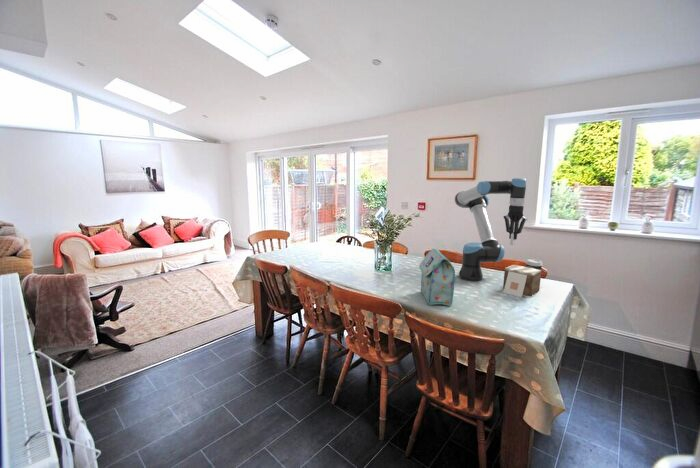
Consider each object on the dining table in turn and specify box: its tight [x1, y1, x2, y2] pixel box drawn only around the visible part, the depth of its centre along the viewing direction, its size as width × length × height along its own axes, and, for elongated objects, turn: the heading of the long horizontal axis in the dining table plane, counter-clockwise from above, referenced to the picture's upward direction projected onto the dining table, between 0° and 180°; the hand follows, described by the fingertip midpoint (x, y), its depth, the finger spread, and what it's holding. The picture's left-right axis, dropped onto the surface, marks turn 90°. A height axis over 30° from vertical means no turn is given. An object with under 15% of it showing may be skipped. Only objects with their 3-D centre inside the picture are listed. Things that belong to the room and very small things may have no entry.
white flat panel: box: [503, 271, 527, 298], centre depth 184 cm, size 10×13×1 cm
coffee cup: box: [525, 258, 544, 270], centre depth 201 cm, size 10×10×15 cm
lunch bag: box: [418, 248, 456, 307], centre depth 176 cm, size 23×16×27 cm
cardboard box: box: [502, 264, 542, 297], centre depth 190 cm, size 16×12×13 cm
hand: (512, 244), depth 190 cm, fingers closed
